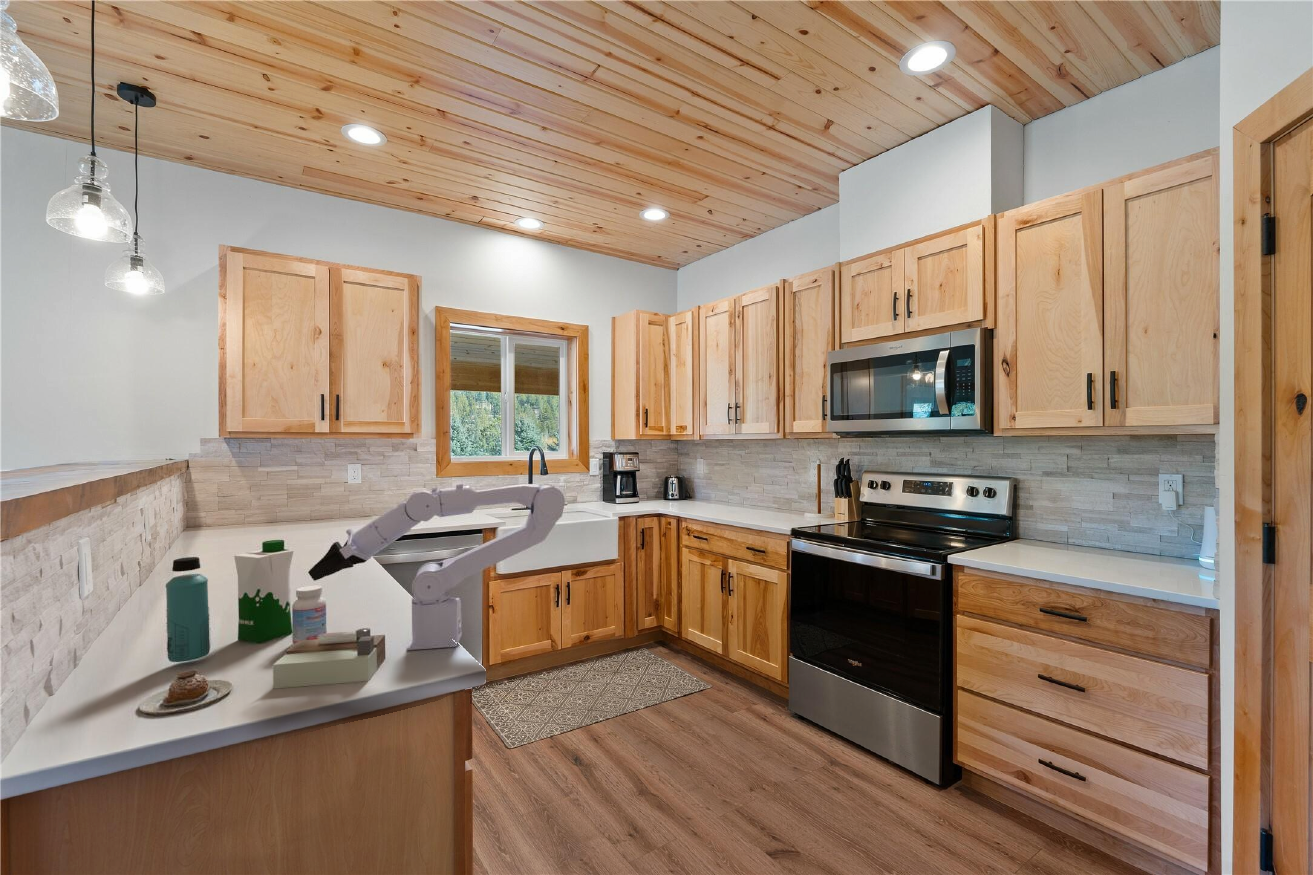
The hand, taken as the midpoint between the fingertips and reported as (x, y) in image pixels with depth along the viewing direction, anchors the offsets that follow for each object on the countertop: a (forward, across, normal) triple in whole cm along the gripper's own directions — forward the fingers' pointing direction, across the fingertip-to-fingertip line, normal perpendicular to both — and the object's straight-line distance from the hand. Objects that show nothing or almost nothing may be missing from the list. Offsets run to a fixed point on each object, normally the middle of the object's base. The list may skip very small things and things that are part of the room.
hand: (318, 573), depth 115 cm
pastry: (+22, +14, +7) cm, 27 cm away
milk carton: (+20, -17, +4) cm, 27 cm away
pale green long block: (+5, +11, +17) cm, 21 cm away
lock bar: (+1, +7, +13) cm, 15 cm away
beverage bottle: (+28, -3, +1) cm, 28 cm away
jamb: (+5, +6, +17) cm, 18 cm away
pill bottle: (+12, -10, +10) cm, 19 cm away
